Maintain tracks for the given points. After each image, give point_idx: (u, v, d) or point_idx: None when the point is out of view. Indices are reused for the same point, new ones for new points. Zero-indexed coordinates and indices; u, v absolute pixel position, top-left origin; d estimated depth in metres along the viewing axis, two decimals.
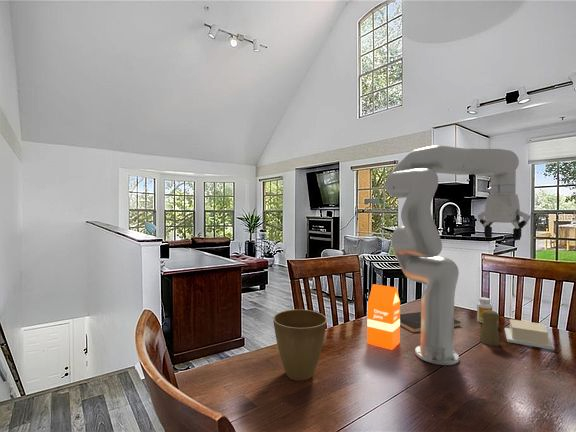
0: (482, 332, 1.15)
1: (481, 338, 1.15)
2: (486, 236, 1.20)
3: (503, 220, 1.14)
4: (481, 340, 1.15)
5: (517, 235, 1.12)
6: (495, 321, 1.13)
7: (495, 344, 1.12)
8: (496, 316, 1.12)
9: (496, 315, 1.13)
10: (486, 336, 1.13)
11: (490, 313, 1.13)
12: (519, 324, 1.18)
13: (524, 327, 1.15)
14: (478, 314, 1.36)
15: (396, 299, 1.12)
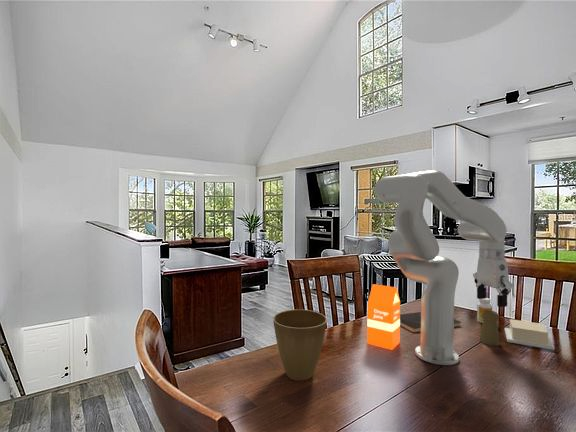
0: (482, 332, 1.15)
1: (481, 338, 1.15)
2: None
3: None
4: (481, 340, 1.15)
5: None
6: (495, 321, 1.13)
7: (495, 344, 1.12)
8: (496, 316, 1.12)
9: (496, 315, 1.13)
10: (486, 336, 1.13)
11: (490, 313, 1.13)
12: (519, 324, 1.18)
13: (524, 327, 1.15)
14: (478, 314, 1.36)
15: (396, 299, 1.12)
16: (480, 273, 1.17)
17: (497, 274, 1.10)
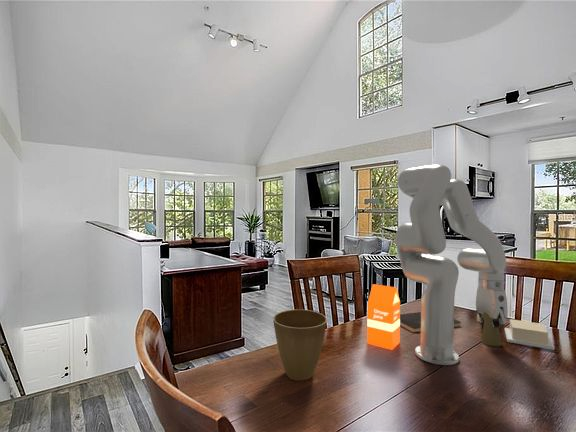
0: (483, 332, 1.15)
1: (482, 338, 1.15)
2: None
3: None
4: (482, 340, 1.14)
5: None
6: None
7: (496, 344, 1.12)
8: (497, 316, 1.12)
9: None
10: (487, 336, 1.13)
11: None
12: (519, 324, 1.18)
13: (524, 327, 1.15)
14: (478, 314, 1.36)
15: (396, 299, 1.12)
16: (479, 302, 1.17)
17: (496, 305, 1.10)
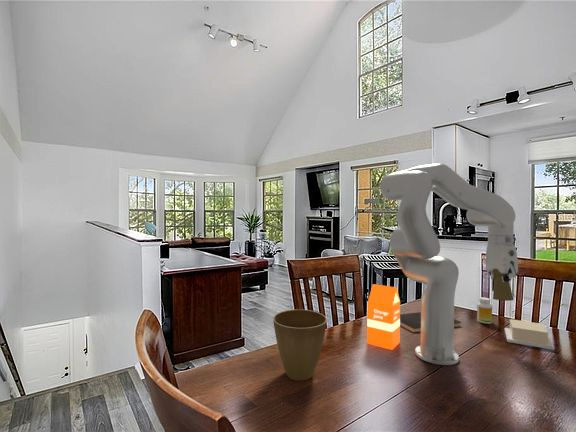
0: (494, 289, 1.15)
1: (494, 295, 1.14)
2: None
3: None
4: (494, 297, 1.14)
5: None
6: None
7: (508, 299, 1.11)
8: None
9: None
10: (499, 292, 1.13)
11: None
12: (519, 324, 1.18)
13: (524, 327, 1.15)
14: (478, 314, 1.36)
15: (396, 299, 1.12)
16: (489, 260, 1.17)
17: (506, 260, 1.10)
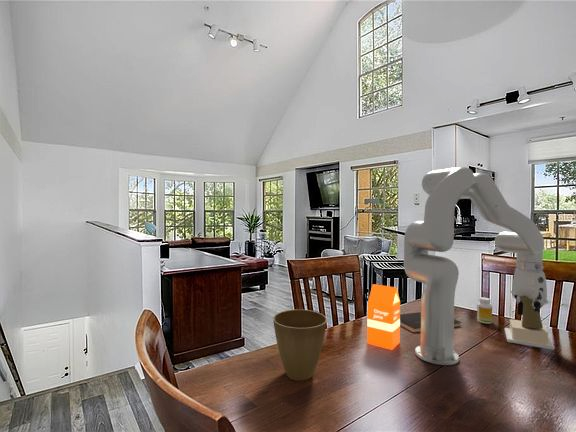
0: (523, 316, 1.16)
1: (523, 322, 1.16)
2: None
3: None
4: (523, 324, 1.16)
5: None
6: None
7: (538, 327, 1.13)
8: None
9: None
10: (528, 319, 1.14)
11: None
12: (519, 324, 1.18)
13: (524, 327, 1.15)
14: (478, 314, 1.36)
15: (396, 299, 1.12)
16: (517, 285, 1.20)
17: (536, 286, 1.12)
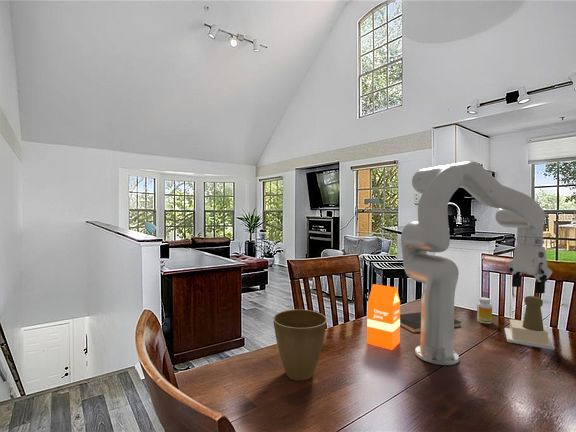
0: (525, 318, 1.15)
1: (524, 323, 1.16)
2: None
3: None
4: (524, 325, 1.15)
5: None
6: (539, 307, 1.13)
7: (539, 329, 1.12)
8: (540, 302, 1.13)
9: (540, 301, 1.13)
10: (529, 321, 1.14)
11: (533, 299, 1.13)
12: (519, 324, 1.18)
13: None
14: (478, 314, 1.36)
15: (396, 299, 1.12)
16: (517, 261, 1.19)
17: (536, 261, 1.12)
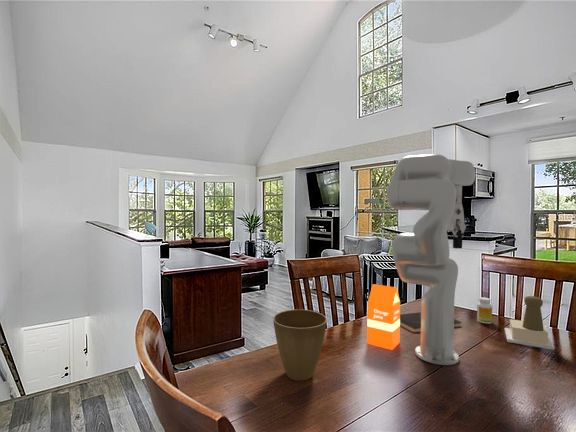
0: (525, 318, 1.15)
1: (524, 324, 1.16)
2: None
3: None
4: (524, 325, 1.15)
5: None
6: (539, 307, 1.13)
7: (539, 329, 1.12)
8: (540, 302, 1.13)
9: (540, 301, 1.13)
10: (529, 321, 1.14)
11: (533, 299, 1.13)
12: (519, 324, 1.18)
13: None
14: (478, 314, 1.36)
15: (396, 299, 1.12)
16: None
17: (453, 217, 1.18)
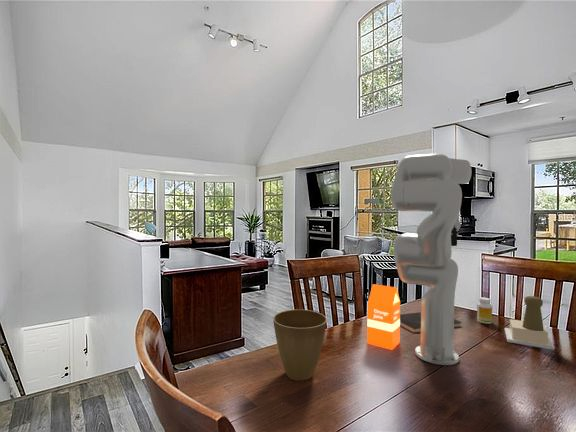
0: (525, 318, 1.15)
1: (524, 324, 1.16)
2: None
3: None
4: (524, 325, 1.15)
5: None
6: (539, 307, 1.13)
7: (539, 329, 1.12)
8: (540, 302, 1.13)
9: (540, 301, 1.13)
10: (529, 321, 1.14)
11: (533, 299, 1.13)
12: (519, 324, 1.18)
13: None
14: (478, 314, 1.36)
15: (396, 299, 1.12)
16: None
17: None
